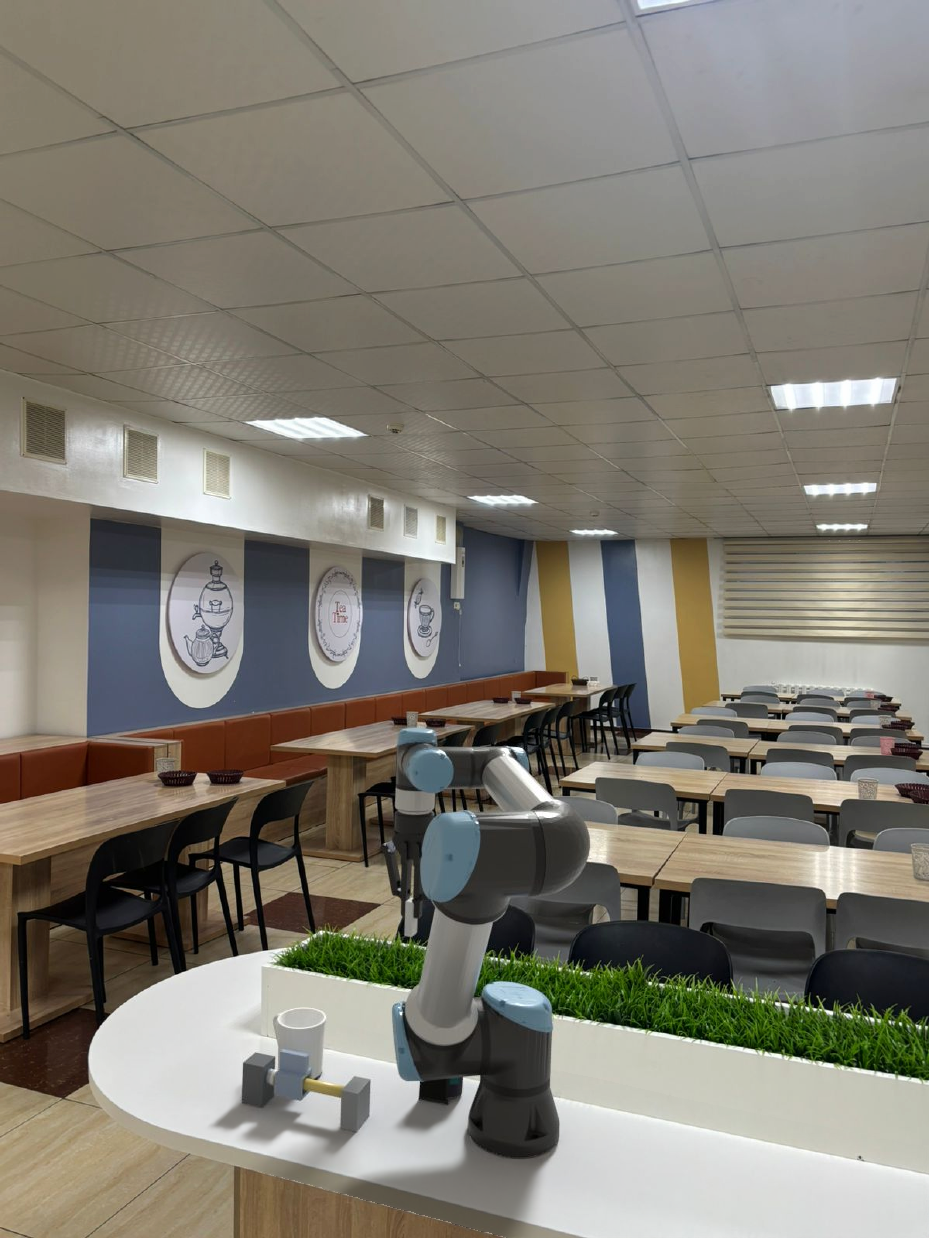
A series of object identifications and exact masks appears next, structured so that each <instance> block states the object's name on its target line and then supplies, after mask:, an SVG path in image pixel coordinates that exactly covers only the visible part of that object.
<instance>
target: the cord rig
mask: <svg viewBox="0 0 929 1238" xmlns="http://www.w3.org/2000/svg"><path fill="white" fill-rule="evenodd" d="M277 1071H278V1068H276V1055H271V1054H270V1055H269V1054H265V1053H260V1052H254V1053H252V1054H251V1055H250V1056H248V1058H247V1059H246V1060H244V1061H242V1080H241V1081H242V1084H241V1104H243V1105H248V1106H251V1107H254V1108H255V1107H256V1108H261V1109H263V1108H264V1107H265V1106H266V1105H267V1104H268V1103H270V1101H271V1100H272V1099H273V1098H274V1097H275V1073H276V1072H277ZM303 1090H307V1091H310V1092H311V1093H317V1094H321V1095H324V1096H331V1097H334V1098H339V1099H340V1123H339V1126H340V1127H339V1128H340V1129H341V1130H342V1129H343V1130H347V1131H352V1132H356V1133H357V1132H359V1130H360V1128H361V1127H362V1126H363V1125H364V1124H365V1123H366V1121H367V1120H368V1119H369V1117H370V1110H371V1109H370V1108H371V1107H370V1106H371V1079H370V1078H366V1077H361V1076H357V1075H355V1076H353V1077H352V1078H351V1079H350V1080H349V1081H348V1082H347V1084H346V1085H345V1086H344V1085H340V1084H335V1083H332V1082H331V1083H330V1082H327V1081H326V1082H325V1081H321V1080H318V1079H317V1080H313V1079H308V1078H304V1079H303Z"/></svg>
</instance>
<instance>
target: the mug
mask: <svg viewBox="0 0 929 1238" xmlns="http://www.w3.org/2000/svg"><path fill="white" fill-rule="evenodd" d="M326 1023H327V1014H326V1013H325V1012H324V1011H322V1010H321V1009H320V1010H319V1009H317V1008H313V1007H296V1008H295V1007H294V1008H291V1009H287V1010H285V1011H282V1012H279V1013H277V1014H275V1015H274V1017H273V1018H272V1024H273V1025H272V1026H273V1031H274V1034H275V1039H276V1042H277V1070H279V1069H280V1051H281V1050H282V1049H286V1050H291V1051H296V1052H301V1053H306V1054H309V1067H310V1068H312V1079H313V1080H317V1081H318V1080H319V1079H320V1077H321V1076H322V1074H323V1063H324V1062H323V1061H324V1046H325V1045H324V1044H325V1031H326Z"/></svg>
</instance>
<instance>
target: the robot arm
mask: <svg viewBox="0 0 929 1238" xmlns="http://www.w3.org/2000/svg"><path fill="white" fill-rule="evenodd" d="M437 738H438V737H437V733H436V731H435V730H433V729H432V728H431V729H430V728H423V727H421V728H420V727H410V728H409V727H408V728H403V729H401V730H399V732H398V733H397V744H396V745H395V746H396V748H395V749H396V775H395V776H396V777H395V782H396V783H395V799H394V800H395V801H394V807H395V809H396V810H395V812H394V826H393V827H394V833H393V835H392V837H391V840H389V841H386V842H385V843H383V844H381V846H380V851H381V852H382V855H383V856H384V860H385V864H386V869H387V874H388V875H387V876H388V880H389V886H390V892H391V895H392V896H393V897H397V898H399V900H400V916H401V917H404V937H410V938H413V936H415V935H416V934H417V933H418V919H420V918H421V917H422V915H423V901H427V900H431V903H432V904H433V906H434V913H433V917H432V921H431V922H432V923H431V927H430V933H429V937H428V941H427V946H426V952H425V956H424V961H423V967H422V970H421V971H422V972H421V975H420V981H419V983H418V984H416V986H414V987H413V989H411V991H410V992H409V994H408V995H407V998H406V1001H405V1000H401V1001H399V1002H396V1003H394V1004H393V1006H392V1008H391V1017H392V1018H391V1020H392V1023H391V1024H392V1032H393V1033H392V1034H393V1042H394V1043H393V1046H394V1053H395V1060H396V1067H397V1072H398V1075H399V1077H400V1078H401V1079H402V1080H403V1081H405V1082H419V1083H420V1082H424V1081H429V1080H439V1079H449V1078H458V1077H463V1078H466V1077H476V1076H478V1077H479V1083H478V1087H477V1089H476V1092H475V1094H474V1098H473V1100H472V1102H471V1103H472V1104H471V1106H470V1108H469V1112H468V1116H467V1117H468V1118H467V1133H468V1135H469V1138H470V1139H471V1140H472V1142H473V1143H474V1144H475V1145H477V1147H479V1148H481V1149H482V1150H483V1151H485V1152H487V1153H490V1154H493V1155H496V1156H499V1157H503V1158H512V1159H525V1158H526V1159H527V1158H534V1157H537V1156H540V1155H542V1154H545V1153H548V1152H549V1151H550V1150H552V1149H553V1148H554V1147H556V1145H557V1143H558V1141H559V1139H560V1117H559V1114H558V1110H557V1106H556V1103H555V1099H554V1096H553V1093H552V1088H551V1071H552V1070H551V1068H552V1045H553V1044H552V1043H553V1042H552V1041H553V1040H552V1039H553V1030H554V1025H553V1024H554V1023H553V1007H552V1003H551V1002H550V999H548V997H547V996H546V995H545V994H544V993H543V992H541V991H539V990H538V989H536V988H534V987H531V986H529V985H525V984H522V983H519V982H514V981H501V980H500V981H492V982H490V983H487V984H486V985H485V986H484V987H483V990H482V991H481V996H477V997H475V993H476V988H477V986H478V981H479V978H480V973H481V970H482V965H483V962H484V958H485V954H486V950H487V948H488V943H489V939H490V935H491V932H492V927H493V925H494V924H493V923H494V922H497V921H498V920H499V919H501V918H502V917H503V916H504V915H505V913H506V912H507V909H508V908H509V905H510V902H511V898H530V897H544V896H549V895H553V894H556V893H558V892H561V891H562V890H564V889H566V888H567V887H569V886H571V884H573V882H574V881H576V879H577V878H578V877H579V876H580V875H581V874H582V872H583V870H584V868H585V867H586V864H587V861H588V858H589V857H590V851H591V837H590V832H589V829H588V826H587V824H586V822H585V820H584V819H583V817H582V816H581V815H580V814H579V813H578V812H577V811H576V810H575V809H574V808H573V807H572V806H571V805H569V803H566V802H564V801H562V800H559V799H555V798H554V797H553V796H552V795H551V794H550V793H549V792H548V791H547V790H546V789H545V788H544V786H542V784H540V783H539V782H538V781H537V780H536V779H535V777H533V775H531V774H530V764H529V758H528V756H527V752H526V750H524V748H522V747H516V746H508V745H503V746H438V739H437ZM467 789H471V790H473V789H474V790H475V789H477V790H478V789H480V790H482V789H485V790H486V792H488V794H489V795H490V797H491V798H492V799H493V800H494V802H495V803H496V805H498V807H499V808H500V810H498V811H497V810H496V811H470V810H468V809H466V810H463V809H461V810H458V811H452V812H442V813H440V814H438V815H435V812H434V809H435V801H436V799H435V798H436V797H435V796H436V794H437V793H440V792H442V791H444V790H467ZM396 850H397V853H398V854H399V856H400V866H401V867H400V868H401V869H399V863H398V859H397V854H396ZM412 869H413V871H412ZM400 871H401V872H400ZM412 872H413V875H412ZM412 877H413V891H412ZM411 896H412V897H411Z"/></svg>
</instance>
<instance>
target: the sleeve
mask: <svg viewBox="0 0 929 1238" xmlns="http://www.w3.org/2000/svg"><path fill="white" fill-rule="evenodd" d="M277 1070H278V1069H277ZM304 1078H308V1079H312V1068H310V1067H309V1054H306V1053H301V1052H296V1051H291V1050H286V1049H282V1050H281V1051H280V1069H279V1070H278V1071H277V1072H276V1073H275V1086H274V1096H277V1097H281V1098H286V1099H290V1100H294V1101H299V1102H302V1100H304V1099H305V1097H307V1095H309V1093H310V1092H311V1091H307V1090H303V1079H304Z"/></svg>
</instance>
